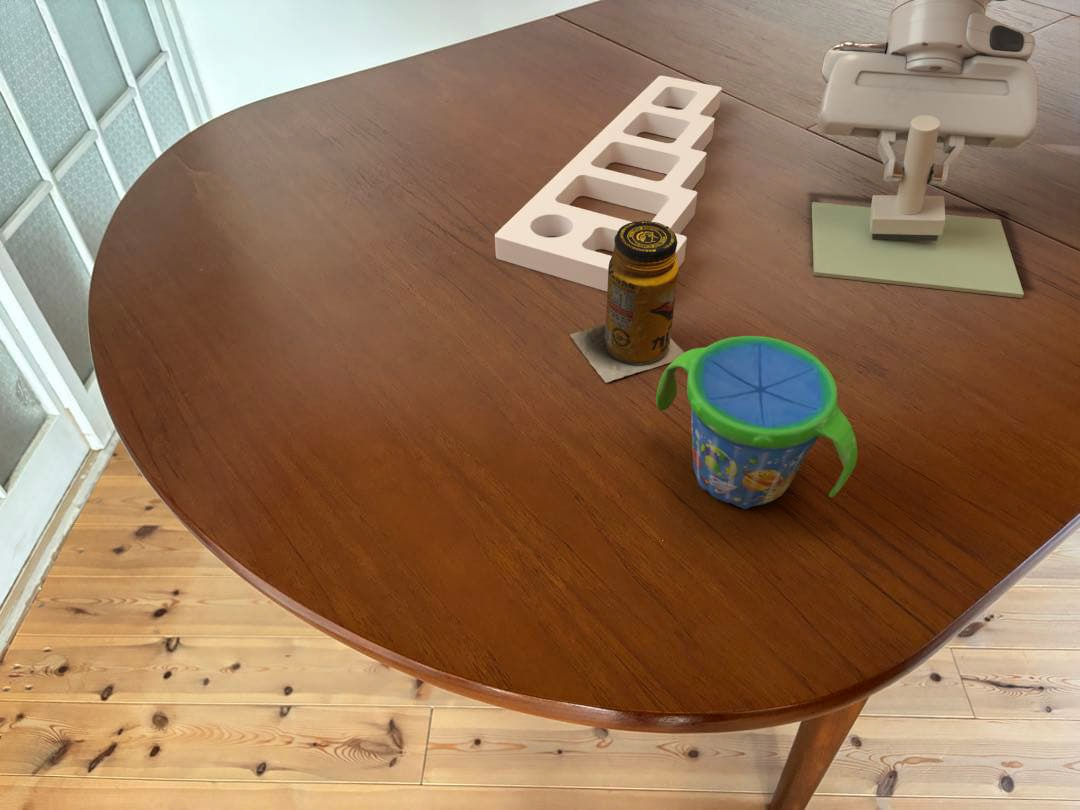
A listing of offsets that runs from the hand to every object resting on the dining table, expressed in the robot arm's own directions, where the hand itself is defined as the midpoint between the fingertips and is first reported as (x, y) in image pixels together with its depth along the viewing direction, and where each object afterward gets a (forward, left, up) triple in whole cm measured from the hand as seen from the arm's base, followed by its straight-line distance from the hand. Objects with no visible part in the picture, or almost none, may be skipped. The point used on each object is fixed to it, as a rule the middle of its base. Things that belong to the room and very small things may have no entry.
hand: (914, 182), depth 86 cm
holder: (+26, -9, -8) cm, 29 cm away
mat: (-2, 0, -8) cm, 8 cm away
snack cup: (+14, +36, -8) cm, 40 cm away
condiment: (+25, +22, -8) cm, 34 cm away
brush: (-1, -2, -7) cm, 7 cm away
